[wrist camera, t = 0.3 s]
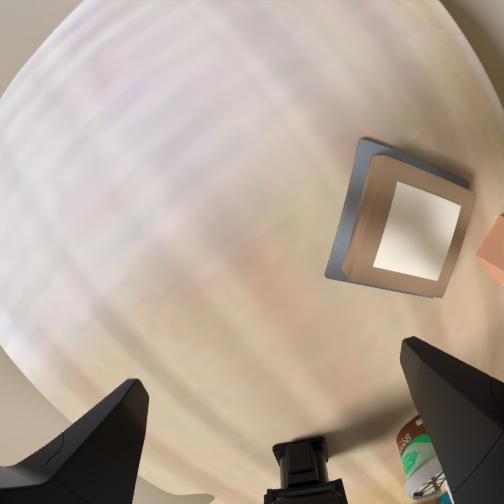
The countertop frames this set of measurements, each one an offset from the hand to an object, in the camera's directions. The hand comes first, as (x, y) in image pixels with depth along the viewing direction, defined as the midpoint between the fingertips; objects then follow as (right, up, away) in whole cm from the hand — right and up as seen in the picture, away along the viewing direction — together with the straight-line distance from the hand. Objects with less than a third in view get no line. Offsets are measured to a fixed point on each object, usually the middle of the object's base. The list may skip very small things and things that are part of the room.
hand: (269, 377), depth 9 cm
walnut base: (+12, +6, +13) cm, 18 cm away
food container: (+21, -21, +22) cm, 37 cm away
